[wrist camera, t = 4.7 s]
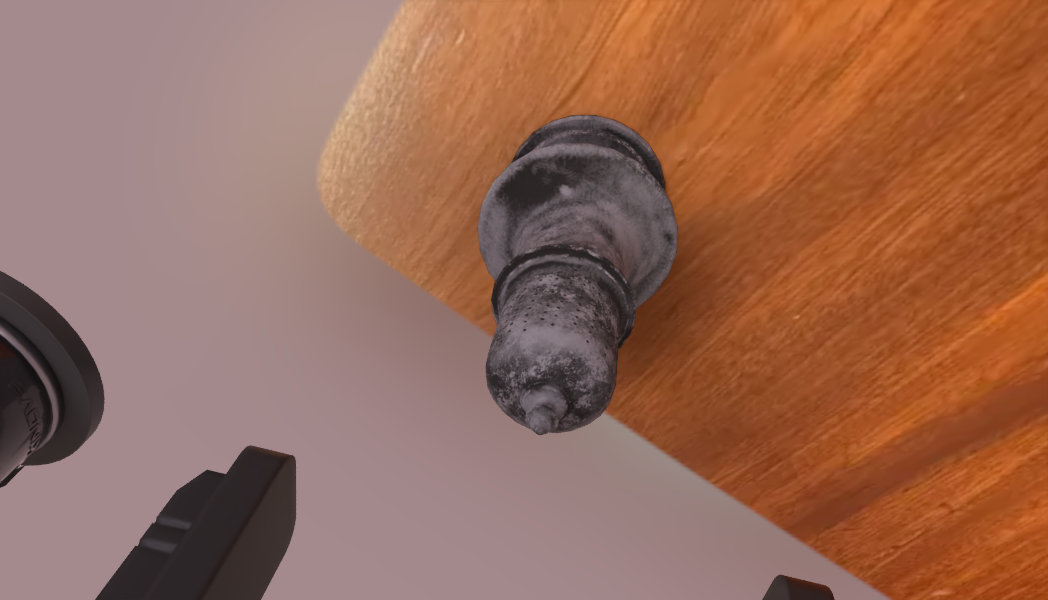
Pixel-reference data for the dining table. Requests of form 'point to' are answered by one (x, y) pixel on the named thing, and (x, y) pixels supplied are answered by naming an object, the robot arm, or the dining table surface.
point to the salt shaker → (571, 266)
